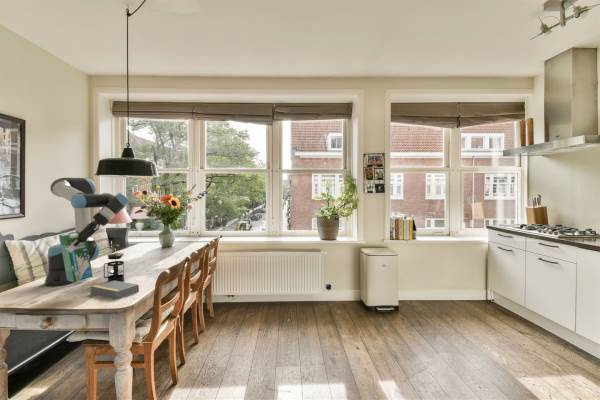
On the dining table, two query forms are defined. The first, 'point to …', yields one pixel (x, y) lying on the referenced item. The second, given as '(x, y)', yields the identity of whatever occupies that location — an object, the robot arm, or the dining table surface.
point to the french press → (115, 267)
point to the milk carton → (75, 258)
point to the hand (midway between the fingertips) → (68, 250)
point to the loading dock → (114, 289)
